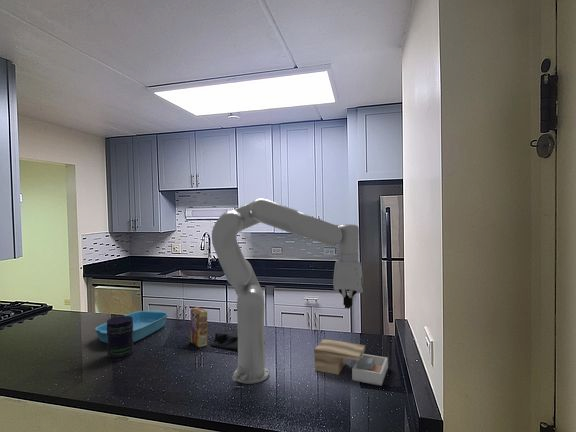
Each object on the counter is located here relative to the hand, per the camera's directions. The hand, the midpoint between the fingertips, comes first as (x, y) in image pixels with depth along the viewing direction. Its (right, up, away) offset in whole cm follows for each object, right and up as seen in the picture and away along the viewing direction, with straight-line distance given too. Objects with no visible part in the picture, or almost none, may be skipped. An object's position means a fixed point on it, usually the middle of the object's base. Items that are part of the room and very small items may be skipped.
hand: (347, 307), depth 128 cm
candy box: (-62, -24, +27) cm, 72 cm away
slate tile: (+6, -19, -2) cm, 20 cm away
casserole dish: (-97, -24, +41) cm, 108 cm away
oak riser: (-3, -23, +2) cm, 23 cm away
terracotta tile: (+9, -21, -4) cm, 23 cm away
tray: (+8, -23, -3) cm, 25 cm away
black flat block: (-44, -24, +26) cm, 57 cm away
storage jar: (-91, -24, +15) cm, 96 cm away
